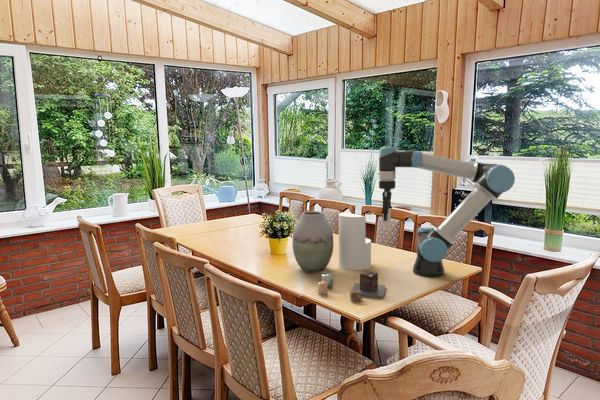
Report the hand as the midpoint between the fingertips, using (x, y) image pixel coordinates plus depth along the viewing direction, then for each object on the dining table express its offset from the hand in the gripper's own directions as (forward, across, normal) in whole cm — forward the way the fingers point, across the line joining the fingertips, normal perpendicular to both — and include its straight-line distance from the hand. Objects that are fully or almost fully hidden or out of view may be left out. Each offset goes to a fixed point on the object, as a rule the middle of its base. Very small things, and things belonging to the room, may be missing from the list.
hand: (386, 224), depth 201 cm
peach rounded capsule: (+27, +27, -25) cm, 45 cm away
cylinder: (+27, -19, -18) cm, 38 cm away
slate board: (+27, +20, -6) cm, 34 cm away
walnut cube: (+27, +31, -10) cm, 42 cm away
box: (+26, +20, -6) cm, 33 cm away
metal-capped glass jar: (+27, +18, -25) cm, 41 cm away
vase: (+27, -7, -38) cm, 47 cm away
